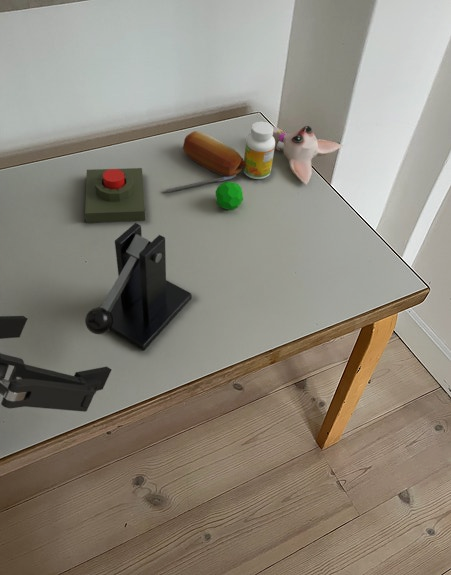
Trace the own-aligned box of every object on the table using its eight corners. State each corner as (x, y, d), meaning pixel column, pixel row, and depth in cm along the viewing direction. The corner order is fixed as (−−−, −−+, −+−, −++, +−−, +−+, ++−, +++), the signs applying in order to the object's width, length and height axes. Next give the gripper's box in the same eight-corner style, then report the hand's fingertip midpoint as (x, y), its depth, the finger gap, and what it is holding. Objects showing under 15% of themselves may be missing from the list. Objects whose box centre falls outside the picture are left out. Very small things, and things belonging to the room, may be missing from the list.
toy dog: (285, 90, 115) (350, 124, 111) (278, 121, 121) (339, 154, 117) (244, 126, 107) (312, 164, 103) (239, 158, 114) (303, 194, 110)
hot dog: (230, 165, 104) (247, 150, 106) (175, 136, 109) (192, 122, 111) (231, 185, 108) (247, 170, 110) (178, 156, 113) (195, 142, 115)
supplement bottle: (237, 169, 111) (241, 125, 103) (257, 159, 113) (263, 115, 106) (255, 183, 108) (261, 139, 101) (276, 173, 111) (283, 129, 103)
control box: (88, 179, 106) (85, 161, 103) (142, 177, 107) (141, 159, 104) (86, 223, 98) (83, 205, 95) (145, 220, 100) (144, 202, 97)
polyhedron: (213, 196, 105) (215, 175, 102) (240, 196, 106) (242, 175, 102) (215, 215, 102) (217, 194, 98) (243, 215, 102) (245, 194, 99)
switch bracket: (143, 351, 82) (139, 281, 71) (95, 322, 84) (82, 251, 73) (191, 298, 89) (194, 227, 78) (145, 273, 91) (141, 201, 80)
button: (103, 177, 101) (102, 169, 100) (124, 176, 102) (123, 168, 100) (103, 190, 99) (102, 182, 97) (124, 189, 99) (124, 181, 98)
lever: (108, 341, 77) (96, 337, 73) (88, 328, 78) (75, 324, 74) (161, 249, 78) (151, 241, 75) (140, 238, 79) (130, 230, 76)
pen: (166, 189, 104) (236, 173, 109) (166, 189, 105) (235, 174, 109) (168, 193, 104) (237, 177, 109) (167, 194, 105) (236, 178, 109)
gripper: (-183, 341, 55) (-22, 332, 75) (5, 480, 48) (129, 429, 68) (-156, 270, 55) (0, 280, 75) (40, 400, 47) (155, 372, 67)
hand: (62, 351), depth 71 cm, fingers open, 13 cm apart
